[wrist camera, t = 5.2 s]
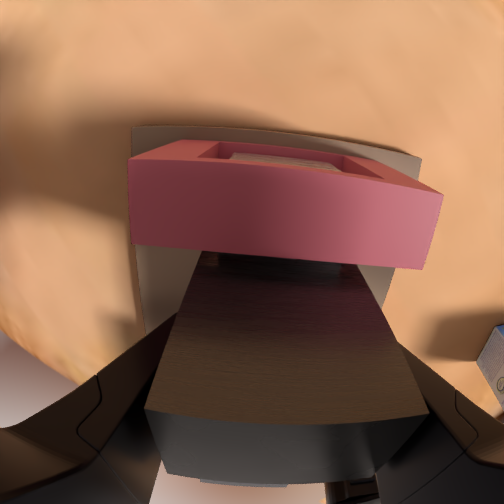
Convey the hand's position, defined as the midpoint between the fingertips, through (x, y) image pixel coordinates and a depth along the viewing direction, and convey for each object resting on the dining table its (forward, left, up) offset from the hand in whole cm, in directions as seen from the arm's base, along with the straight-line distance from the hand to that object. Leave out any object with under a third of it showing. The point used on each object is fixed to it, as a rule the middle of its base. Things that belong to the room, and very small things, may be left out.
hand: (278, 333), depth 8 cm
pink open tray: (+3, 0, -7) cm, 8 cm away
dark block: (-3, 0, -6) cm, 7 cm away
